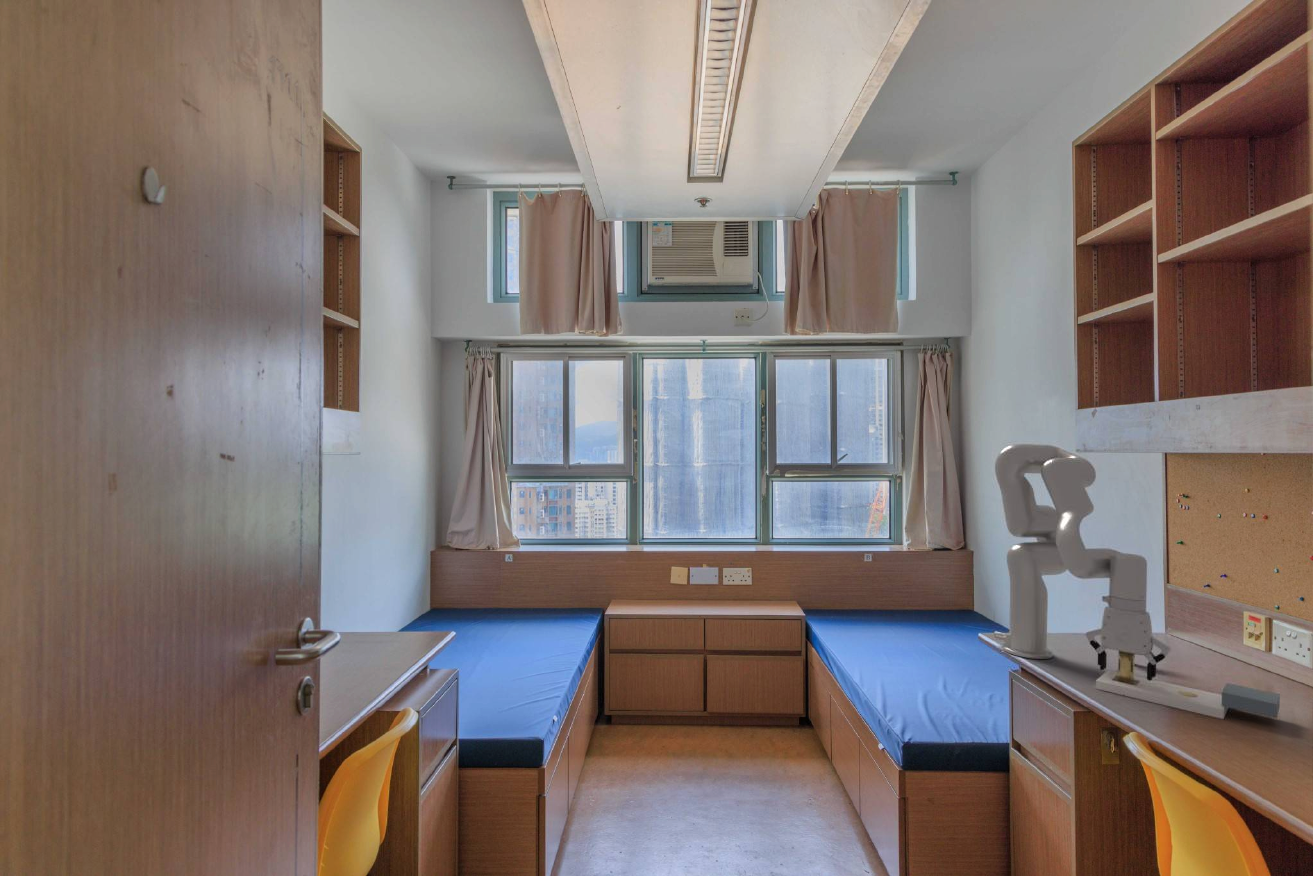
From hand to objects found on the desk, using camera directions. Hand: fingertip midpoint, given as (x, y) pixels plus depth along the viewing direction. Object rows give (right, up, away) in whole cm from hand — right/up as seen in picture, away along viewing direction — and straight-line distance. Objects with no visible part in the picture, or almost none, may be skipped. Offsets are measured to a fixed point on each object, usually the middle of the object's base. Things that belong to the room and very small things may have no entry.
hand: (1126, 673), depth 165 cm
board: (+5, -4, -5) cm, 8 cm away
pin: (0, -4, 0) cm, 4 cm away
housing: (+16, -2, -16) cm, 23 cm away
